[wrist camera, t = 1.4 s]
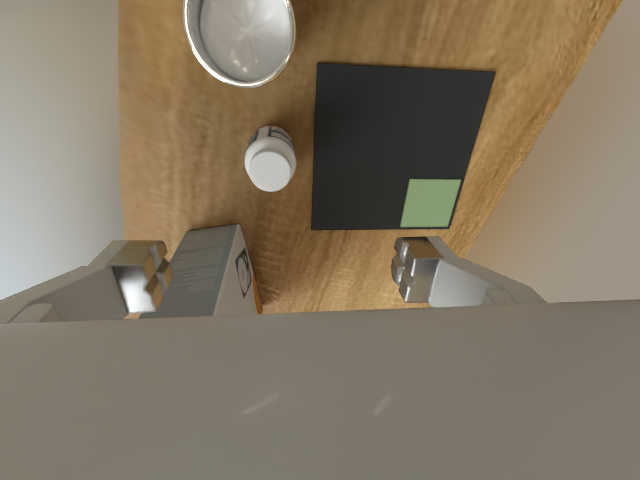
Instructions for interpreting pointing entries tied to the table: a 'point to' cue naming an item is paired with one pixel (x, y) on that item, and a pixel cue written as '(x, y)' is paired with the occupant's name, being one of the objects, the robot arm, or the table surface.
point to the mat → (393, 144)
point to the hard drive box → (210, 276)
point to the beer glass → (241, 38)
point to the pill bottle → (270, 158)
